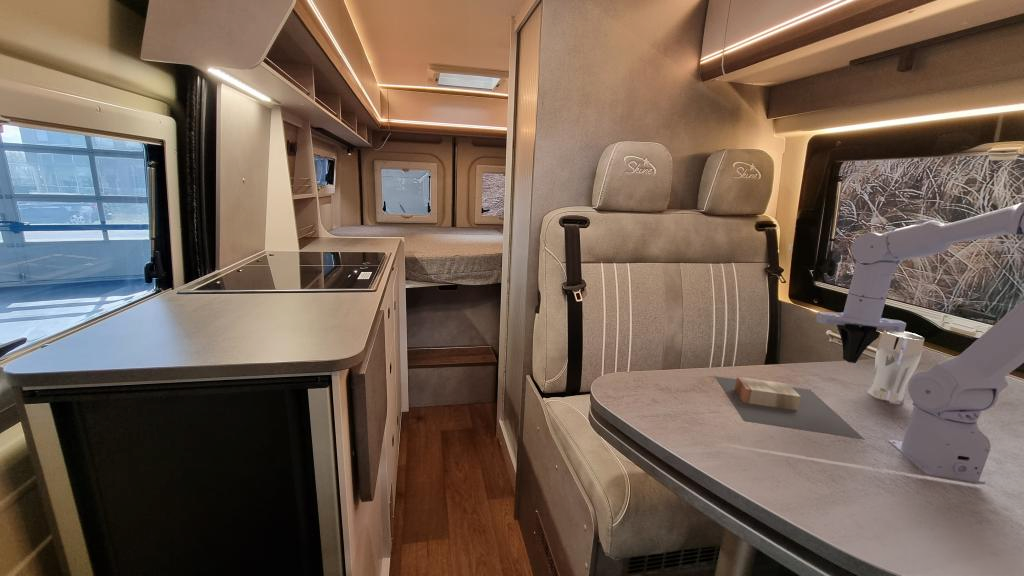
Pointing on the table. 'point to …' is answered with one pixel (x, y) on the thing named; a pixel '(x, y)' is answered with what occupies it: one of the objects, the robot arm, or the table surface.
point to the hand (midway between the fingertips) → (849, 360)
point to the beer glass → (895, 365)
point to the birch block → (767, 393)
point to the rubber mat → (792, 413)
